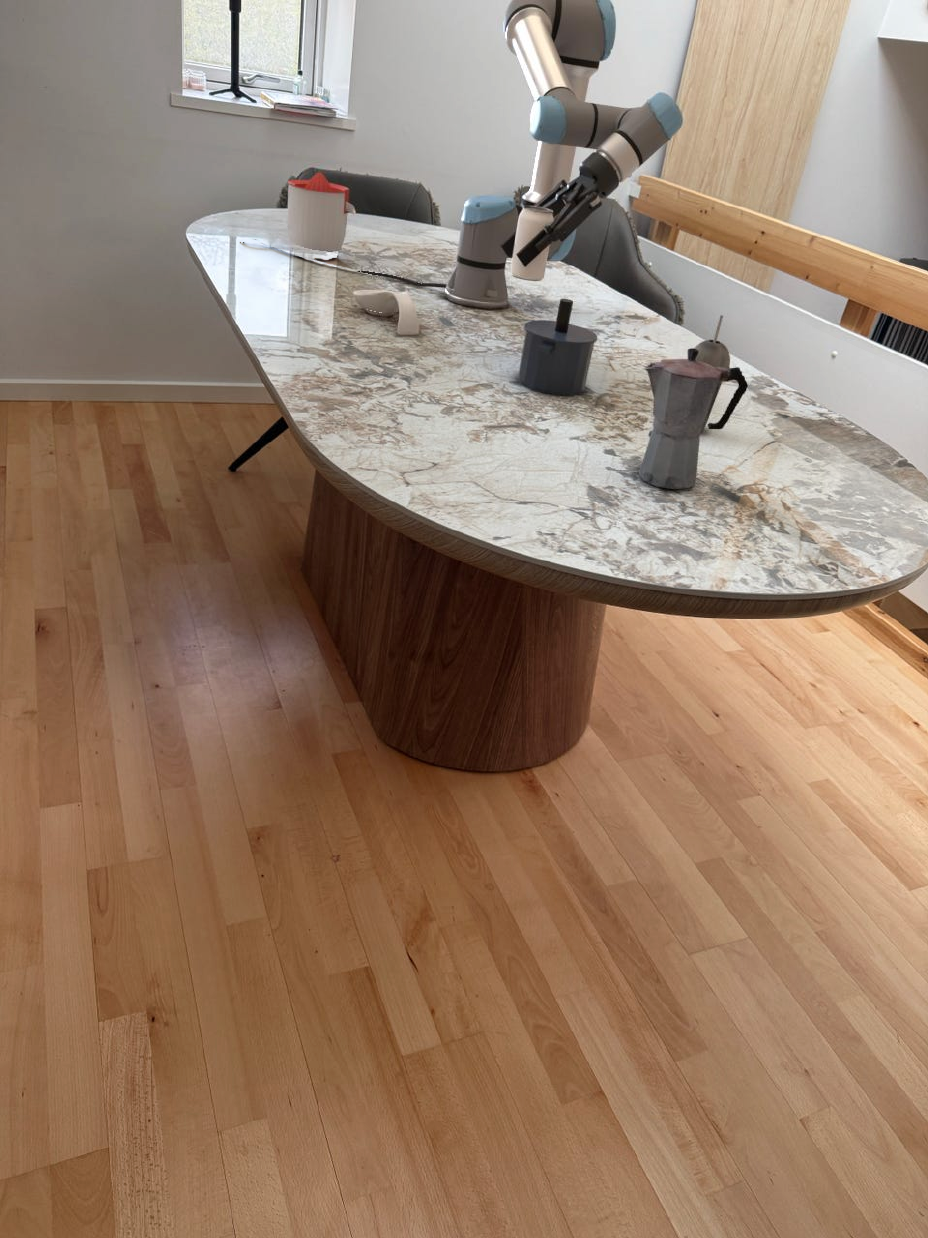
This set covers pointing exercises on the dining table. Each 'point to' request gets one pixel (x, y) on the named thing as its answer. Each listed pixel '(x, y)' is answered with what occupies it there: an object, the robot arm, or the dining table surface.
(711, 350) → the beverage cup
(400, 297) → the beige curved piece
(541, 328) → the pot lid
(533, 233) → the can
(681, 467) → the moka pot
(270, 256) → the dining table surface
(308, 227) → the citrus juicer
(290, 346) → the dining table surface
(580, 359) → the pot
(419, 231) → the dining table surface
